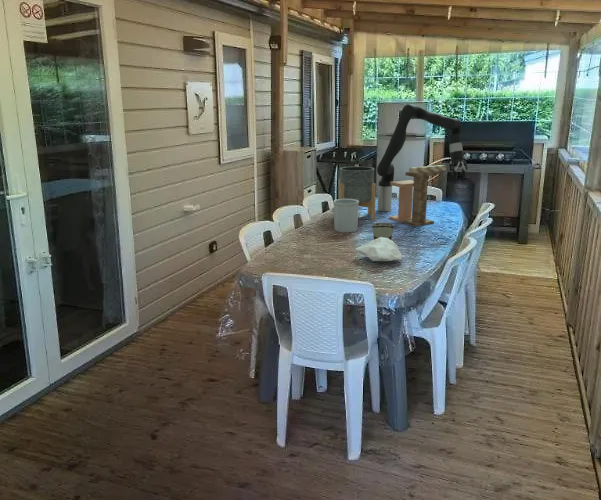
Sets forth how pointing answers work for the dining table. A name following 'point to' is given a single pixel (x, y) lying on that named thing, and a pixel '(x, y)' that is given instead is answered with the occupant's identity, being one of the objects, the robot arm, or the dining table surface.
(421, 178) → the walnut base stand
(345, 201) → the utensil holder
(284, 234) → the dining table surface
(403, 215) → the terracotta base stand
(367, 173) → the planter
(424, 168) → the beech bar
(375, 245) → the crumpled cloth
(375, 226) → the food container
